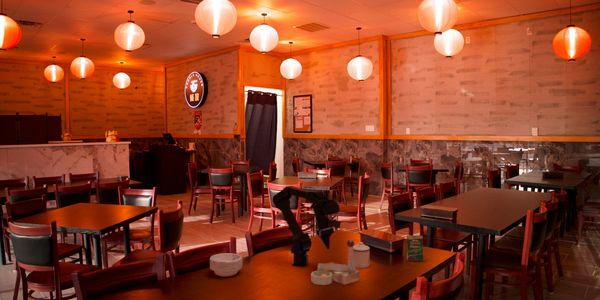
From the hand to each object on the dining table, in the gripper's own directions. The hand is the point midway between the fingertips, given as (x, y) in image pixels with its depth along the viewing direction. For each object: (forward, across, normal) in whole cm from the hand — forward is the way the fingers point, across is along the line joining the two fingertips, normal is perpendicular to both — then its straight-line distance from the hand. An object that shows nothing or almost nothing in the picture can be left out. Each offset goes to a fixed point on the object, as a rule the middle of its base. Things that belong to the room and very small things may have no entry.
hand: (328, 249), depth 209 cm
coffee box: (+18, +14, -44) cm, 50 cm away
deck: (+13, -5, -1) cm, 14 cm away
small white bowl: (+12, -10, +8) cm, 18 cm away
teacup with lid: (+12, +11, -15) cm, 23 cm away
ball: (+10, -12, +7) cm, 18 cm away
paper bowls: (+1, +6, +49) cm, 50 cm away
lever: (+9, -11, +1) cm, 14 cm away
